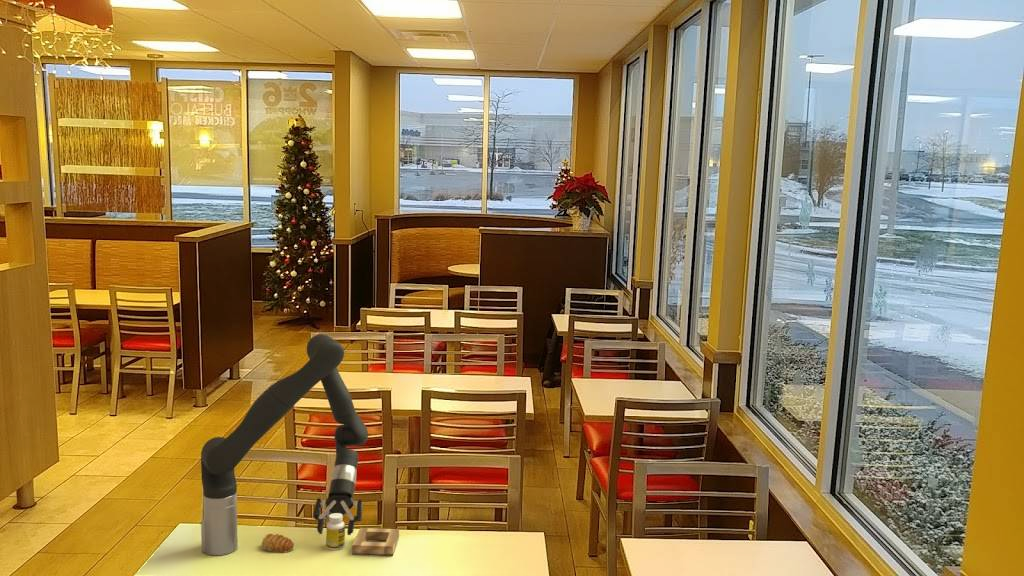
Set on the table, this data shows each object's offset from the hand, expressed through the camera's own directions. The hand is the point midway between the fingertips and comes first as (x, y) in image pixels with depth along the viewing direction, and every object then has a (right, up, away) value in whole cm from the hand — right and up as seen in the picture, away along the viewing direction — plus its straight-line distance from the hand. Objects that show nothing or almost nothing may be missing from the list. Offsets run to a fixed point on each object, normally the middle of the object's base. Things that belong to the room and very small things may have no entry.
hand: (334, 533), depth 238 cm
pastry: (-17, -5, 0) cm, 18 cm away
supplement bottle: (0, -5, +2) cm, 5 cm away
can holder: (+12, -5, +3) cm, 13 cm away
